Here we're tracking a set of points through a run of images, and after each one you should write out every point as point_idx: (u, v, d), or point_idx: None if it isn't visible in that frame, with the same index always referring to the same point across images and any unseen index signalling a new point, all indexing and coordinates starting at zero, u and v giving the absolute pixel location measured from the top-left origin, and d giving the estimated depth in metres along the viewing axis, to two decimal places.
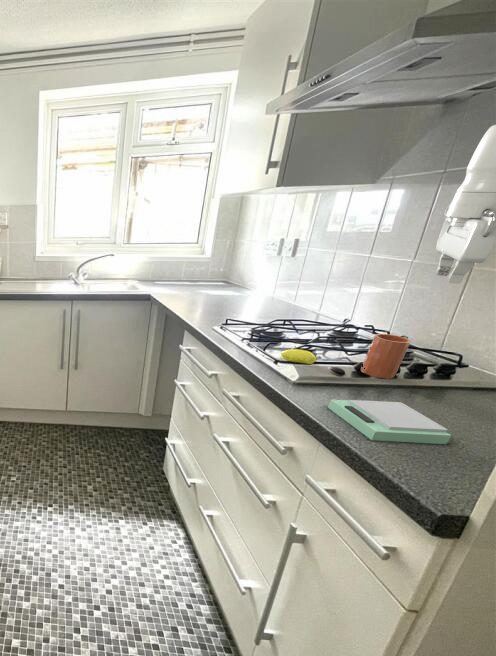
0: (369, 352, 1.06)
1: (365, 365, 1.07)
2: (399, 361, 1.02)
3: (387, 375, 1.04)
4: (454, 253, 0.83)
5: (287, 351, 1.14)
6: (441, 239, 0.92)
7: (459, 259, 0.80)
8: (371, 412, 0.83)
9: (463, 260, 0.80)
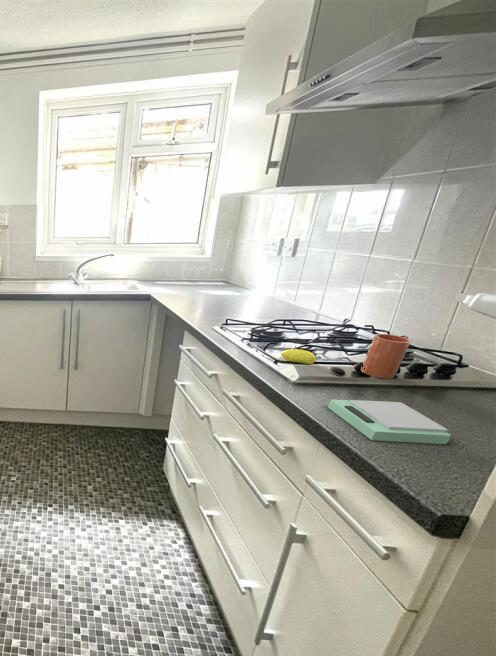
0: (369, 352, 1.06)
1: (365, 365, 1.07)
2: (399, 361, 1.02)
3: (387, 375, 1.04)
4: None
5: (287, 351, 1.14)
6: None
7: None
8: (371, 412, 0.83)
9: None
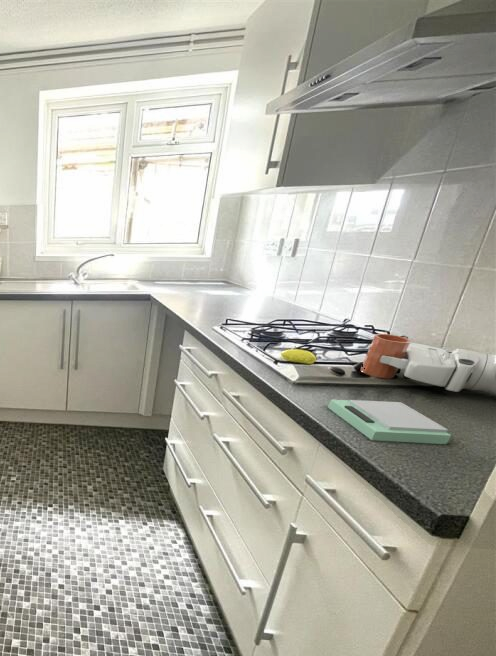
0: (369, 352, 1.06)
1: (365, 365, 1.07)
2: None
3: (387, 375, 1.04)
4: None
5: (287, 351, 1.14)
6: None
7: None
8: (371, 412, 0.83)
9: None
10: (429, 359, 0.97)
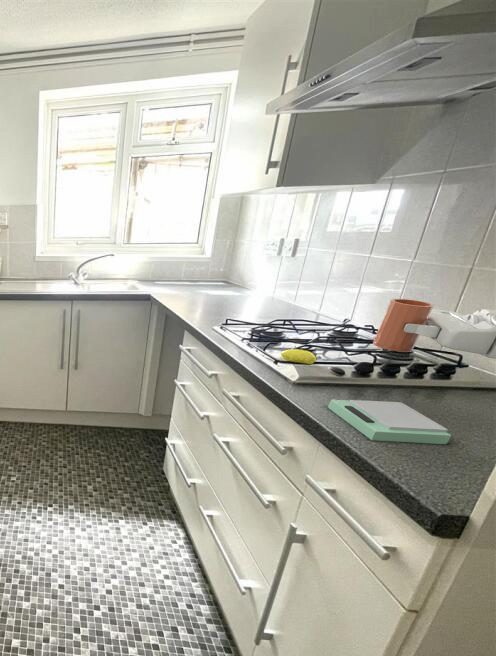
0: (386, 321, 0.91)
1: (382, 336, 0.92)
2: None
3: (409, 346, 0.89)
4: None
5: (287, 351, 1.14)
6: None
7: None
8: (371, 412, 0.83)
9: None
10: (460, 324, 0.84)
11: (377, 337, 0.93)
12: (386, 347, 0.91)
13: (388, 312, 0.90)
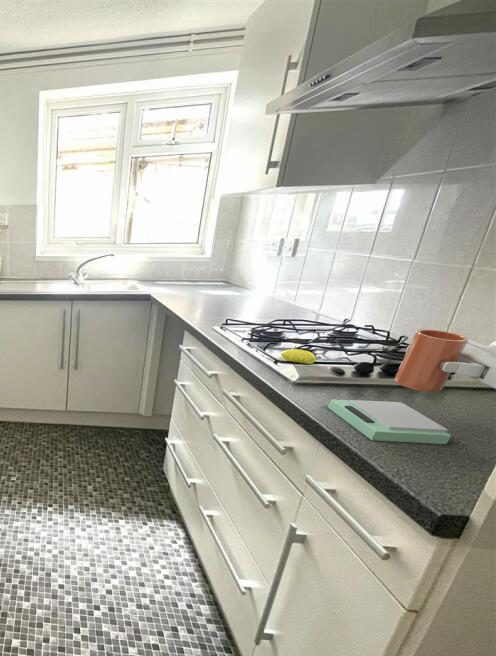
0: (416, 358, 0.77)
1: (411, 375, 0.78)
2: None
3: (442, 385, 0.76)
4: None
5: (287, 351, 1.14)
6: None
7: None
8: (371, 412, 0.83)
9: None
10: None
11: (403, 376, 0.79)
12: (417, 388, 0.77)
13: (417, 347, 0.76)
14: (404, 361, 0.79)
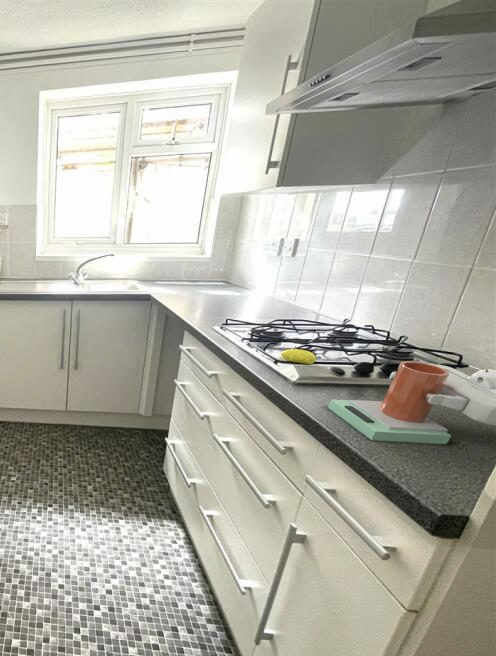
0: (400, 389, 0.79)
1: (395, 406, 0.80)
2: None
3: (425, 416, 0.79)
4: None
5: (287, 351, 1.14)
6: None
7: None
8: (371, 412, 0.83)
9: None
10: (480, 390, 0.75)
11: (388, 406, 0.82)
12: (401, 418, 0.80)
13: (401, 379, 0.79)
14: (389, 392, 0.82)
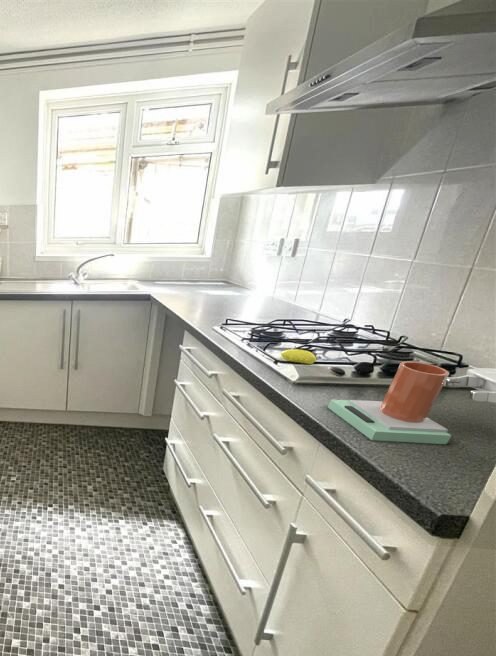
0: (400, 389, 0.79)
1: (395, 406, 0.80)
2: None
3: (425, 416, 0.79)
4: None
5: (287, 351, 1.14)
6: None
7: None
8: (371, 412, 0.83)
9: None
10: None
11: (388, 406, 0.82)
12: (401, 418, 0.80)
13: (401, 379, 0.79)
14: (389, 392, 0.82)
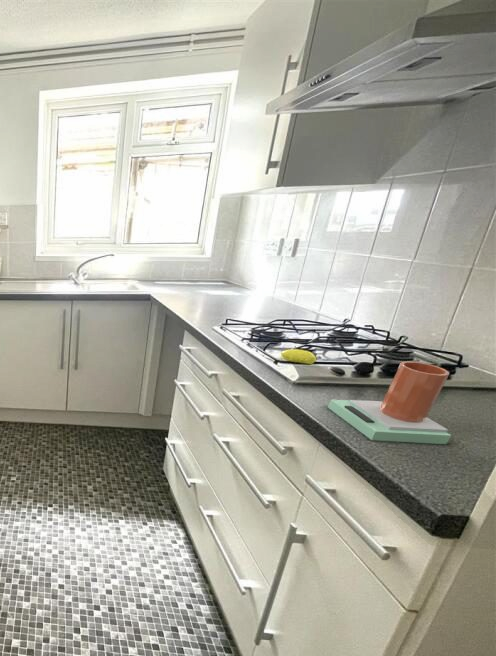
0: (400, 389, 0.79)
1: (395, 406, 0.80)
2: None
3: (425, 416, 0.79)
4: None
5: (287, 351, 1.14)
6: None
7: None
8: (371, 412, 0.83)
9: None
10: None
11: (388, 406, 0.82)
12: (401, 418, 0.80)
13: (401, 379, 0.79)
14: (389, 392, 0.82)
